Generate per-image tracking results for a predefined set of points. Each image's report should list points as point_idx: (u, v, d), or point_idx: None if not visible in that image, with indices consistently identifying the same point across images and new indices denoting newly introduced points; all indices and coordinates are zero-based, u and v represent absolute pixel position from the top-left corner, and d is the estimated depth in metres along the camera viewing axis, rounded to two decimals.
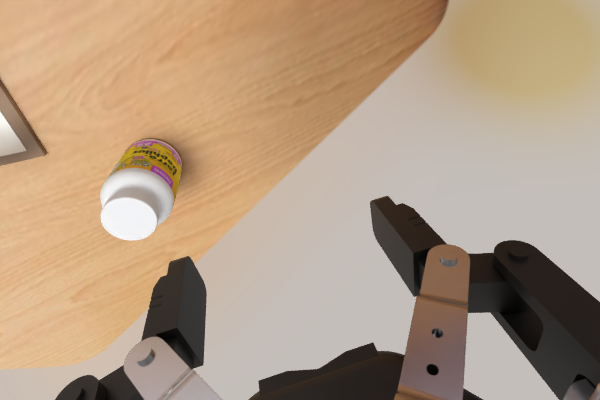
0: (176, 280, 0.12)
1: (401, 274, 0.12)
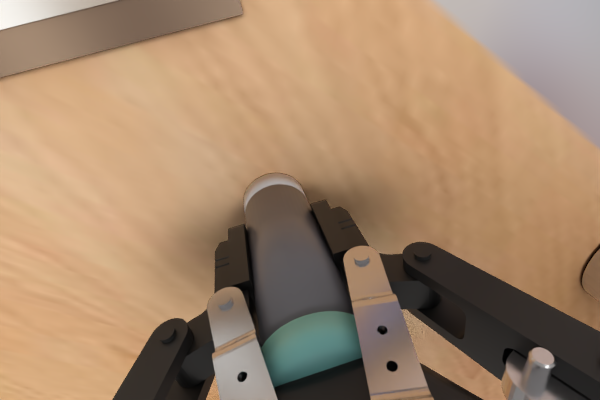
0: (238, 243, 0.13)
1: None
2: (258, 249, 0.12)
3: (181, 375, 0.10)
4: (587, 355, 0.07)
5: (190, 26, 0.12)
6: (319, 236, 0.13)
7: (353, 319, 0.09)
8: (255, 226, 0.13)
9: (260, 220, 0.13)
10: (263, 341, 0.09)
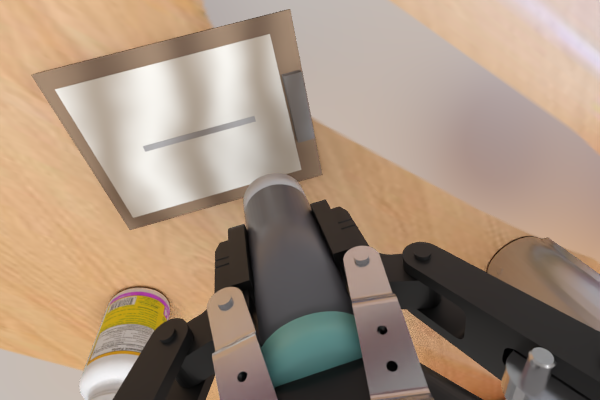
0: (238, 243, 0.13)
1: None
2: (259, 249, 0.12)
3: (181, 375, 0.10)
4: (587, 355, 0.07)
5: (303, 179, 0.33)
6: (319, 236, 0.12)
7: (353, 319, 0.09)
8: (255, 226, 0.13)
9: (260, 220, 0.13)
10: (263, 341, 0.09)
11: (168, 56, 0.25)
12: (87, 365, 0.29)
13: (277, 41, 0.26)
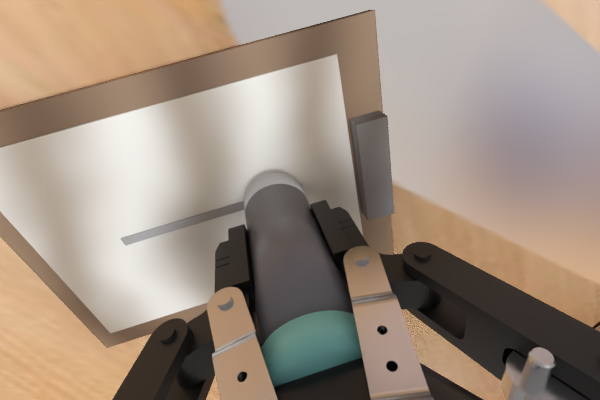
0: (238, 243, 0.13)
1: None
2: (259, 248, 0.12)
3: (181, 375, 0.10)
4: (587, 355, 0.07)
5: None
6: (319, 236, 0.13)
7: (353, 318, 0.09)
8: (255, 226, 0.13)
9: (260, 219, 0.13)
10: (263, 340, 0.09)
11: (159, 97, 0.14)
12: None
13: (347, 65, 0.15)
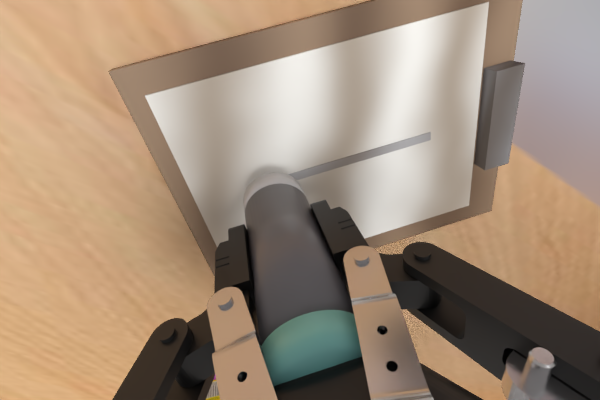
0: (238, 243, 0.13)
1: None
2: (258, 248, 0.12)
3: (181, 375, 0.10)
4: (587, 355, 0.07)
5: (466, 218, 0.23)
6: (319, 235, 0.13)
7: (353, 318, 0.09)
8: (255, 225, 0.13)
9: (260, 219, 0.13)
10: (263, 340, 0.09)
11: (329, 39, 0.15)
12: None
13: (493, 14, 0.16)
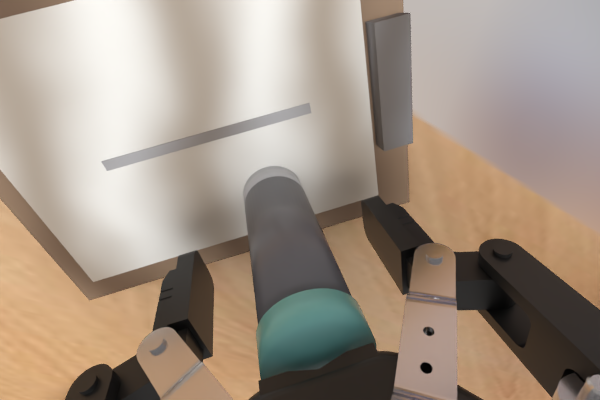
0: (185, 273, 0.12)
1: (391, 272, 0.13)
2: (257, 235, 0.13)
3: None
4: None
5: None
6: (315, 223, 0.13)
7: (345, 296, 0.10)
8: (254, 215, 0.14)
9: (259, 209, 0.14)
10: (260, 317, 0.10)
11: None
12: None
13: None
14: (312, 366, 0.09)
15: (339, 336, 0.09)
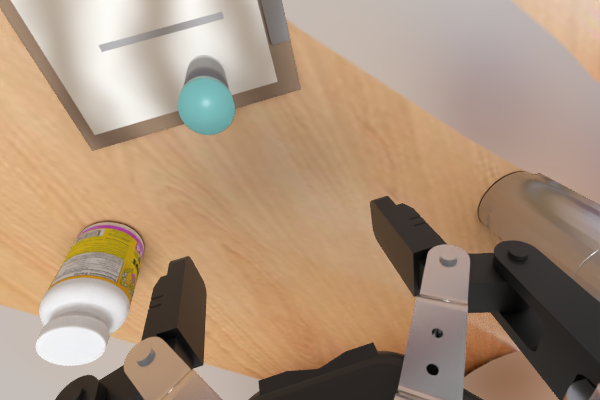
0: (176, 280, 0.12)
1: (401, 274, 0.12)
2: (186, 75, 0.23)
3: None
4: None
5: (280, 94, 0.31)
6: (219, 71, 0.24)
7: (219, 80, 0.20)
8: (187, 72, 0.25)
9: (190, 68, 0.25)
10: None
11: None
12: None
13: None
14: (203, 110, 0.20)
15: (212, 91, 0.20)
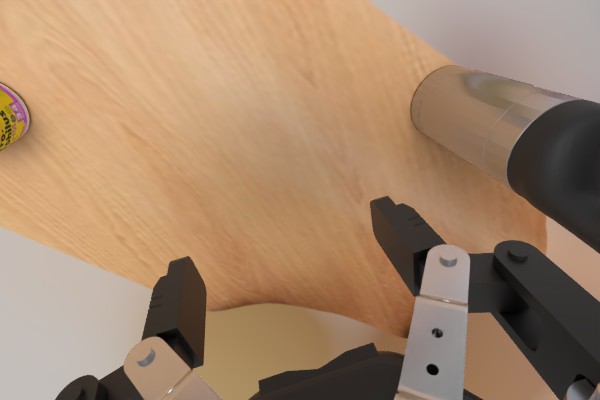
0: (176, 280, 0.12)
1: (401, 274, 0.12)
2: None
3: None
4: None
5: None
6: None
7: None
8: None
9: None
10: None
11: None
12: None
13: None
14: None
15: None
